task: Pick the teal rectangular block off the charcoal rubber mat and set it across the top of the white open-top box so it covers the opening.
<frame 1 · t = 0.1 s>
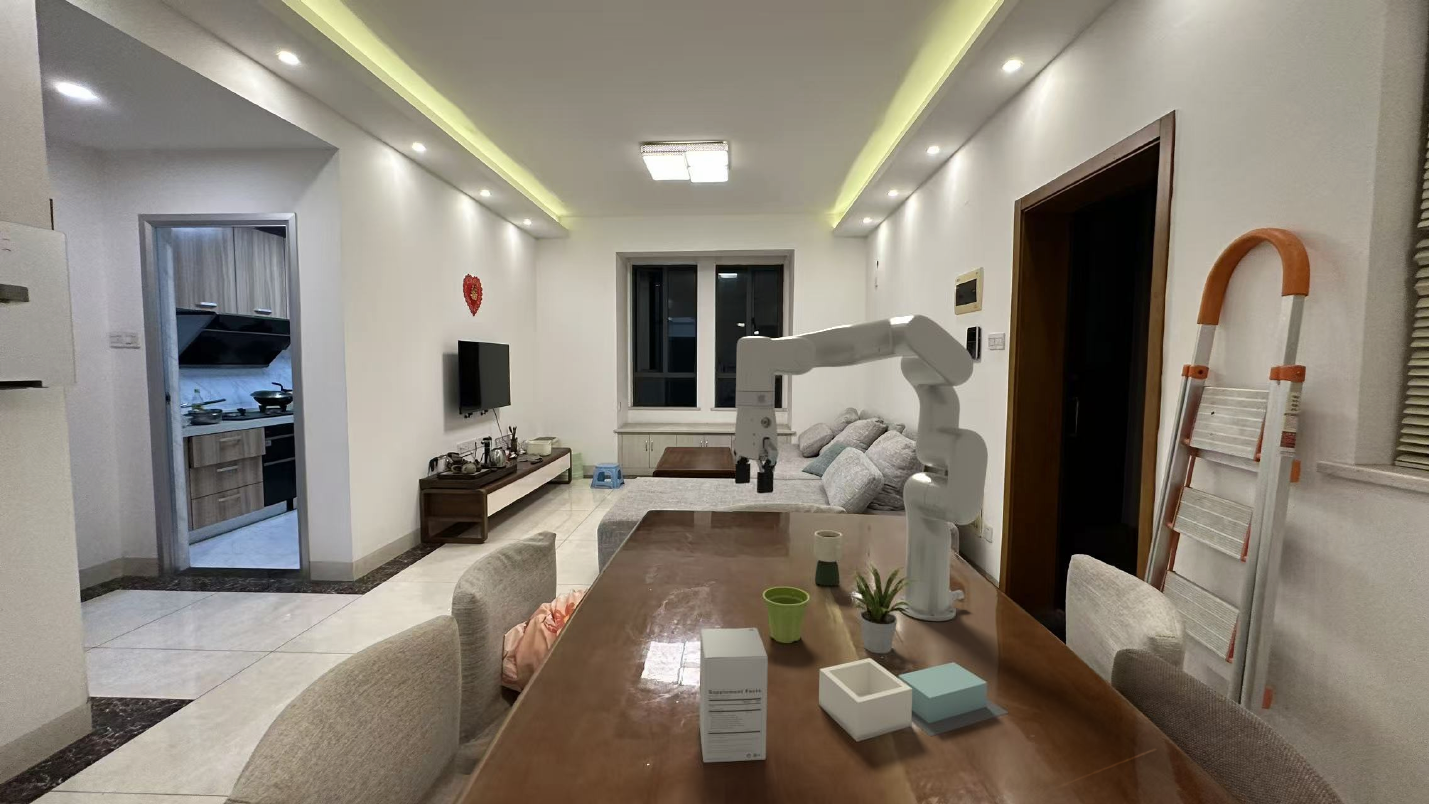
hand: (753, 487, 111), 31 cm above the table, fingers open, 9 cm apart
white open-top box: (863, 715, 89), on the table
teal rectangular block: (941, 702, 92), resting on mat
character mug: (827, 584, 145), on the table
mat: (941, 704, 92), on the table
house plant: (884, 648, 111), on the table
supplement box: (730, 743, 82), on the table
plant pot: (785, 637, 115), on the table
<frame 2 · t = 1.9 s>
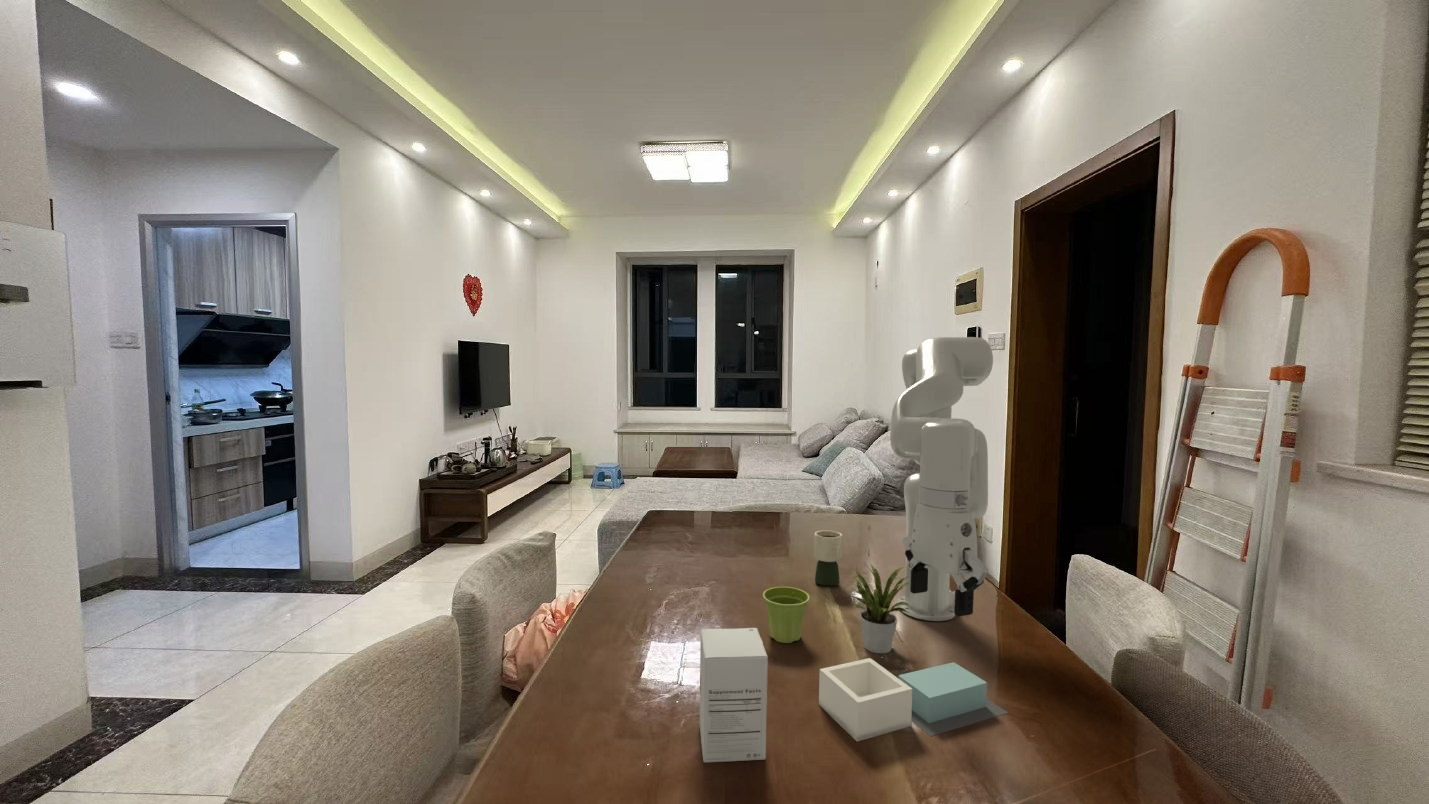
hand: (940, 602, 92), 17 cm above the table, fingers open, 9 cm apart
nothing on the table moved.
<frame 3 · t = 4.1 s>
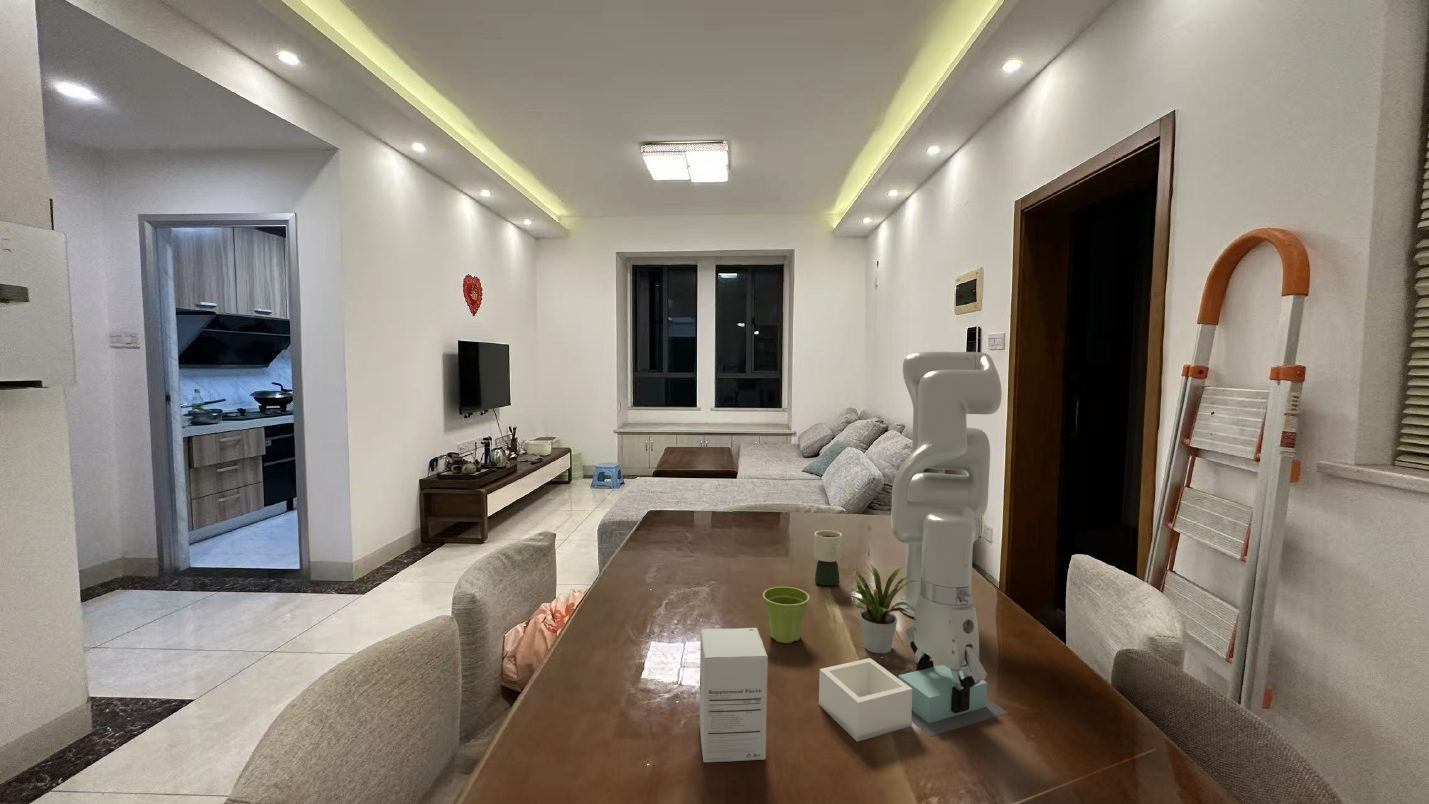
hand: (941, 696, 92), 1 cm above the table, fingers closed on teal rectangular block, 7 cm apart
teal rectangular block: (941, 702, 92), resting on mat, touching gripper
everything else where it was.
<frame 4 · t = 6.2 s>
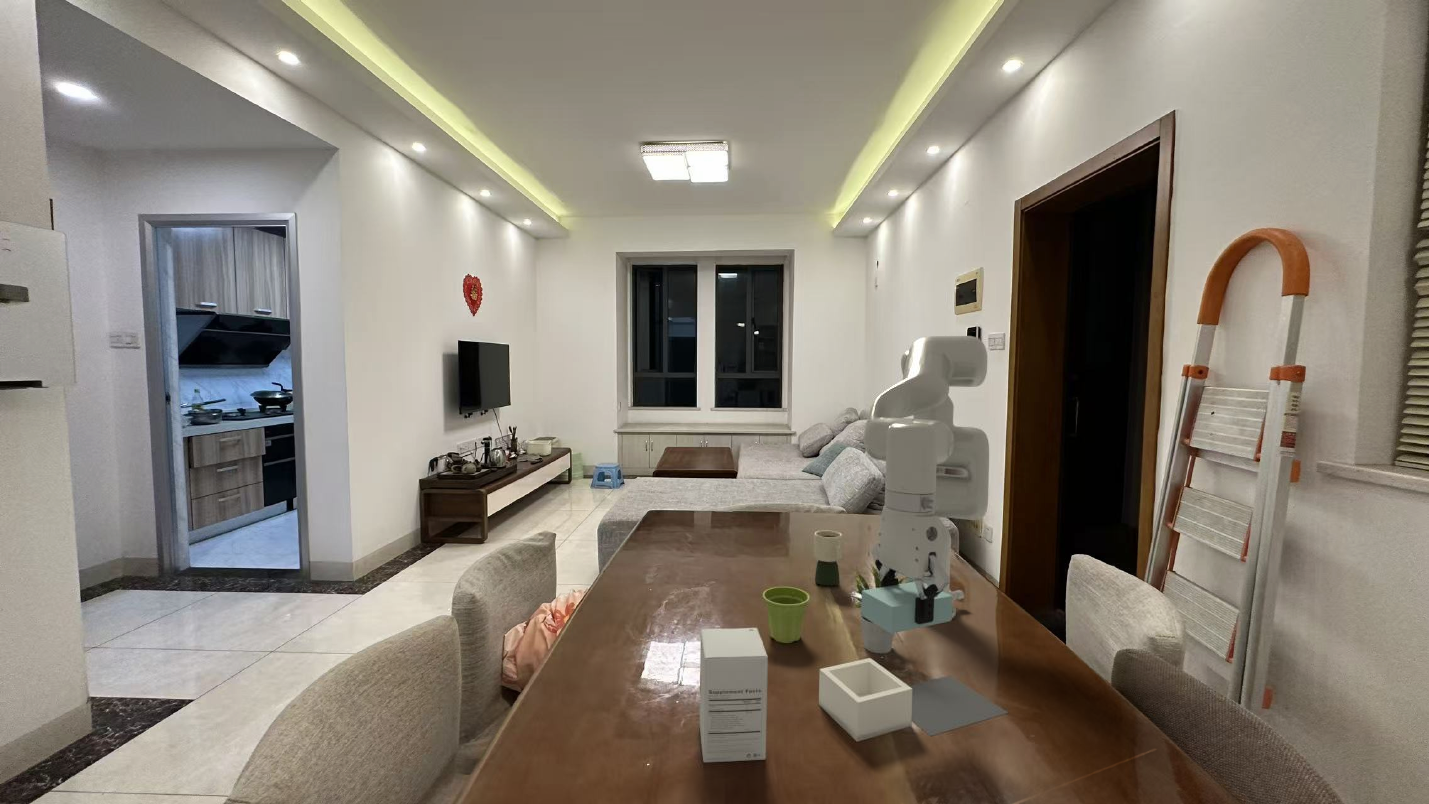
hand: (905, 611, 90), 16 cm above the table, fingers closed on teal rectangular block, 7 cm apart
teal rectangular block: (905, 618, 90), point 15 cm above the table, touching gripper
everything else where it was.
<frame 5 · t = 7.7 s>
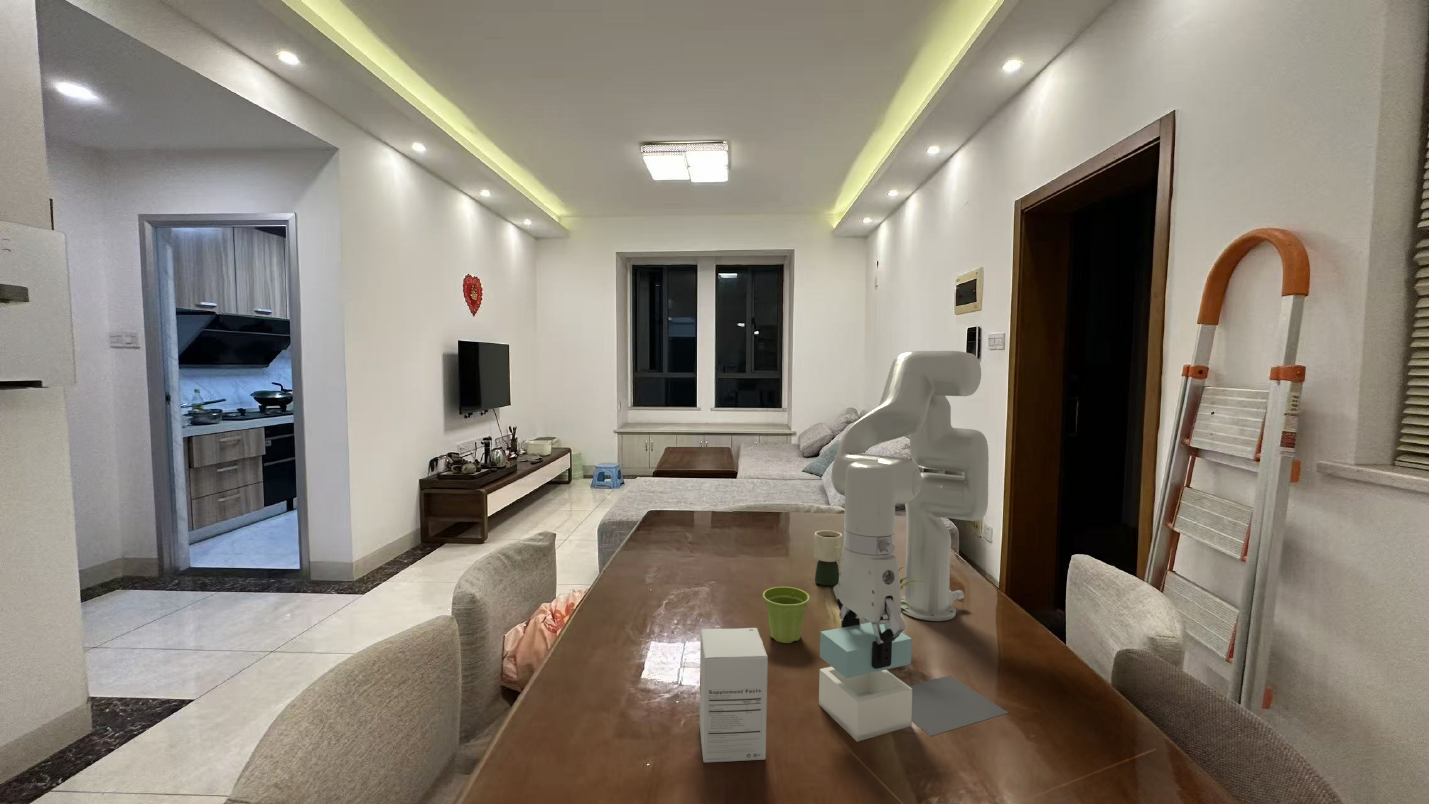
hand: (865, 653, 88), 10 cm above the table, fingers closed on teal rectangular block, 7 cm apart
teal rectangular block: (864, 660, 88), point 9 cm above the table, touching gripper
everything else where it was.
when the fingers open (8 cm above the table, at t = 8.6 s): teal rectangular block stays where it is, resting on white open-top box.
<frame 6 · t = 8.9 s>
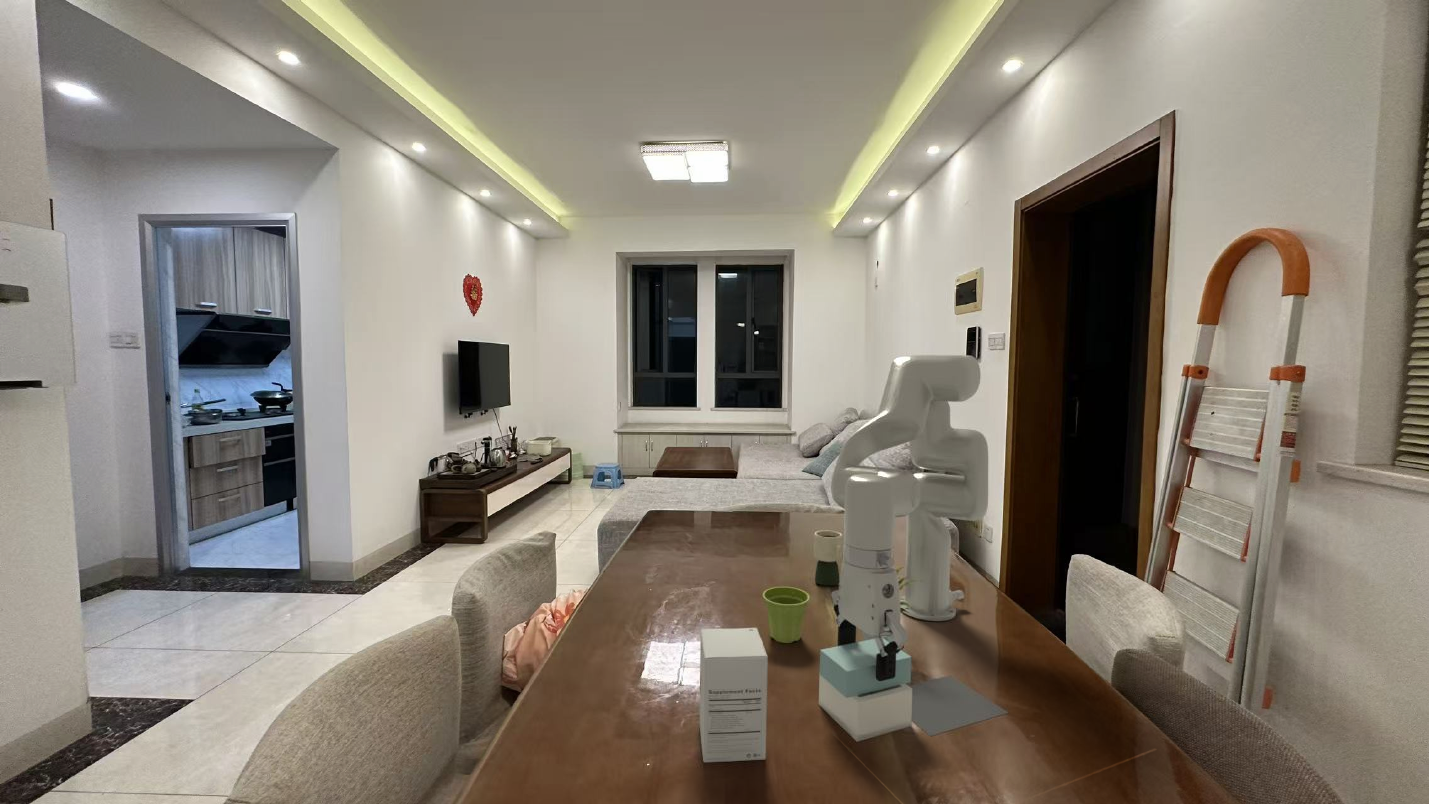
hand: (865, 663, 88), 8 cm above the table, fingers open, 9 cm apart
teal rectangular block: (864, 678, 89), point 6 cm above the table, touching white open-top box
everything else where it was.
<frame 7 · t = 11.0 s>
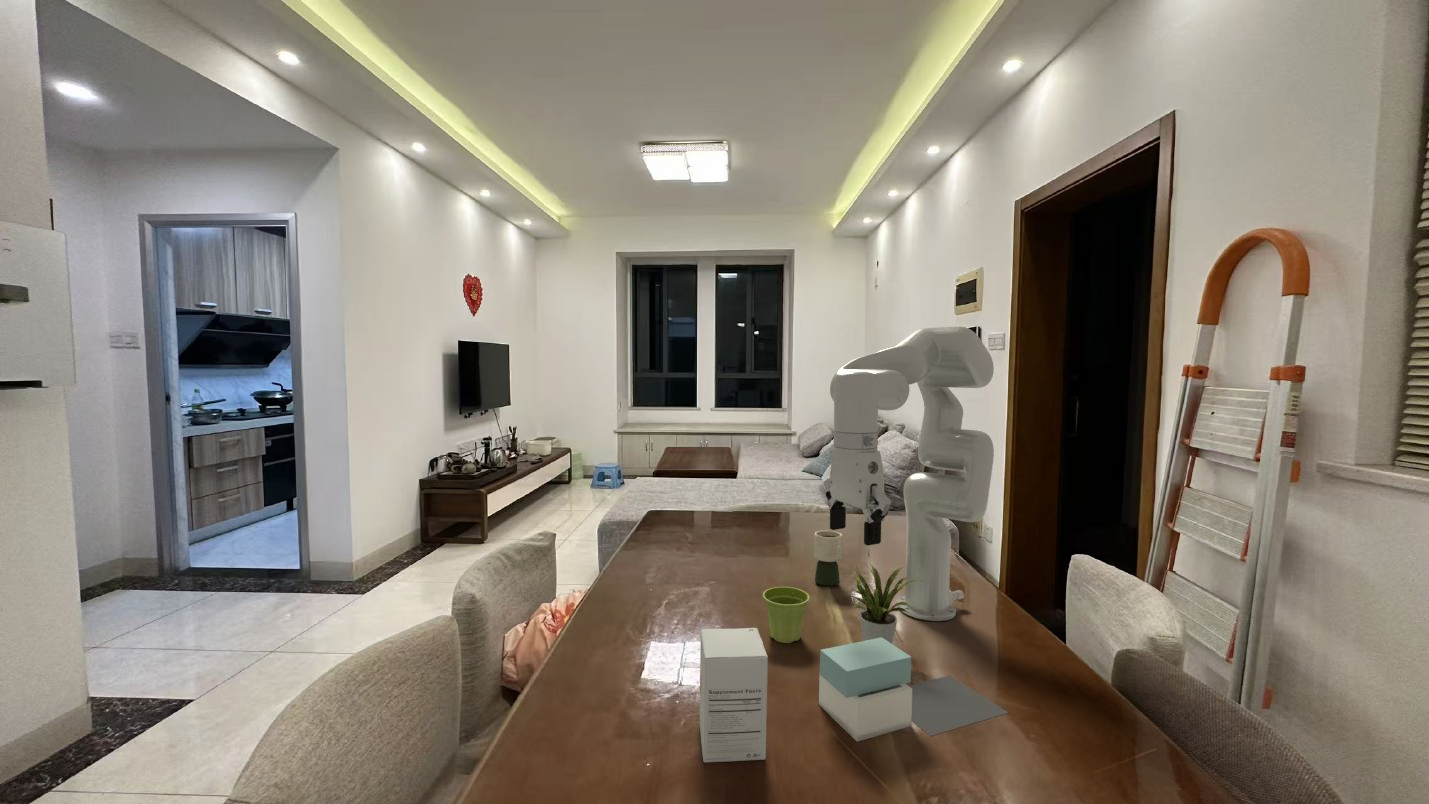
hand: (854, 536, 101), 25 cm above the table, fingers open, 9 cm apart
nothing on the table moved.
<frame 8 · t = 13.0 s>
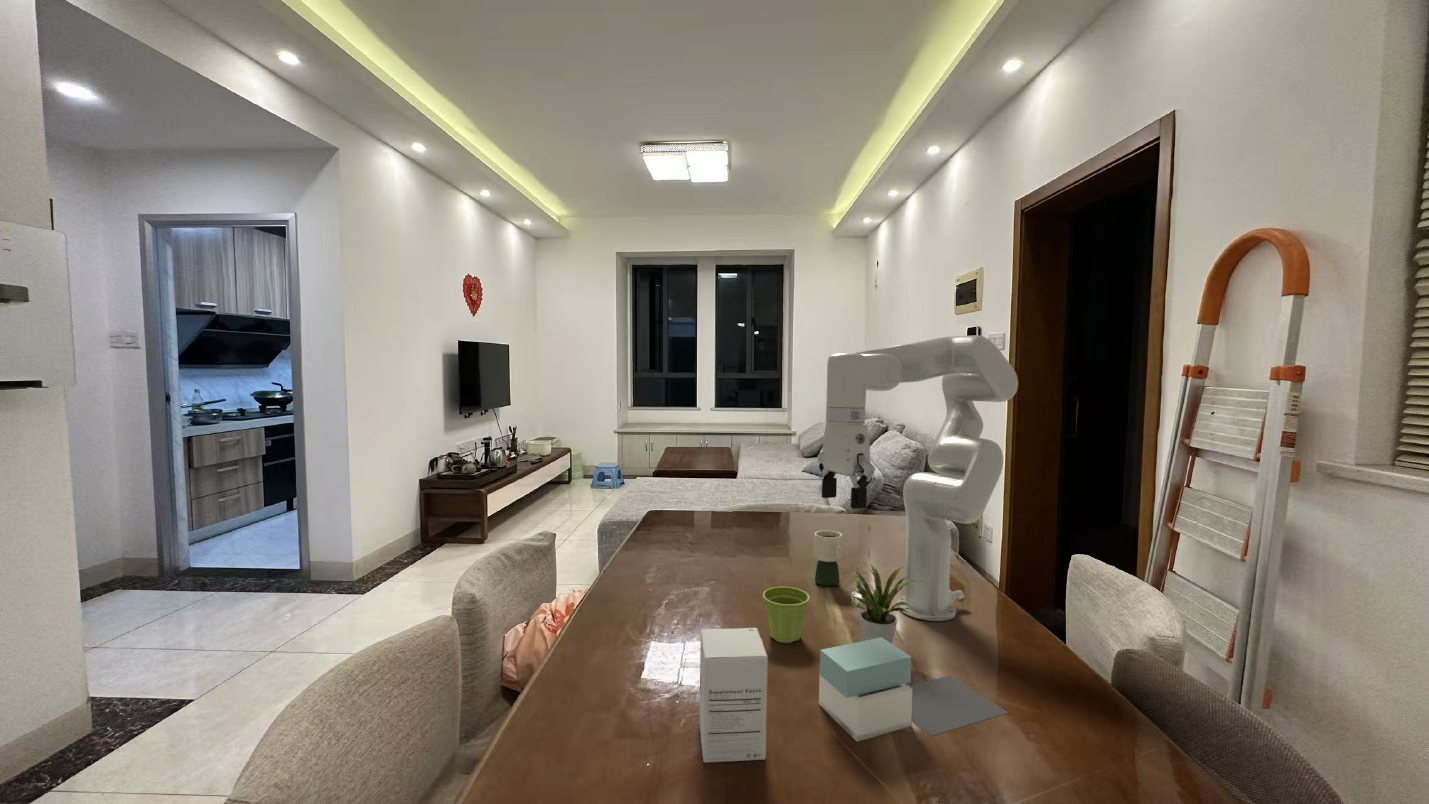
hand: (843, 502, 112), 28 cm above the table, fingers open, 9 cm apart
nothing on the table moved.
at the end: teal rectangular block 0.1 cm off-centre on the white open-top box, point 6.0 cm above the white open-top box's base; teal rectangular block touching white open-top box; the gripper is holding nothing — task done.
